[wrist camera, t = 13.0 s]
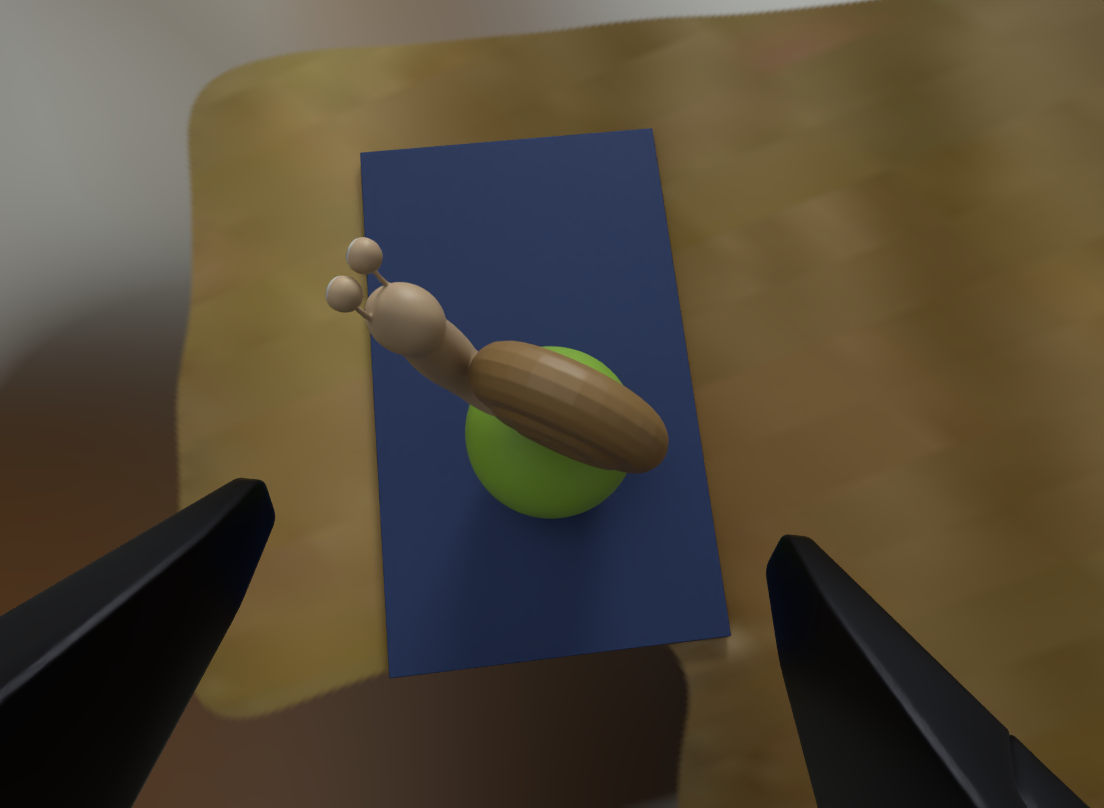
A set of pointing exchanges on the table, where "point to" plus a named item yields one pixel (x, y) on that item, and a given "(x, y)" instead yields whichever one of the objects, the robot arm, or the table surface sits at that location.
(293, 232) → the table surface
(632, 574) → the navy cloth
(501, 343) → the snail figurine
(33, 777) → the robot arm
